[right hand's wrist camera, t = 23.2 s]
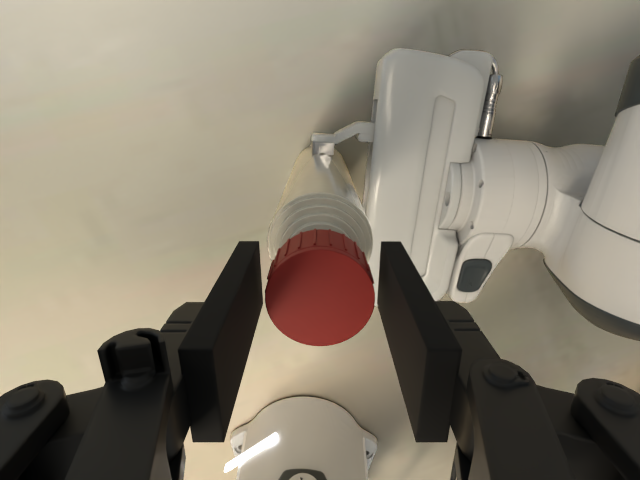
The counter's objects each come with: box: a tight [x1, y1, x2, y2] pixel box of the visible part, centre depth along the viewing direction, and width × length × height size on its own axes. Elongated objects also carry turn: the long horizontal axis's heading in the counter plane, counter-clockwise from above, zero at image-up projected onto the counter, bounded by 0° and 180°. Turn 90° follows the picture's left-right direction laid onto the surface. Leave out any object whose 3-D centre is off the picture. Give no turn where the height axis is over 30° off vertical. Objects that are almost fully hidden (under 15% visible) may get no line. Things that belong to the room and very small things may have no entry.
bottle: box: [267, 146, 373, 263], centre depth 24 cm, size 5×5×24 cm
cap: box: [265, 229, 375, 346], centre depth 14 cm, size 4×4×2 cm
